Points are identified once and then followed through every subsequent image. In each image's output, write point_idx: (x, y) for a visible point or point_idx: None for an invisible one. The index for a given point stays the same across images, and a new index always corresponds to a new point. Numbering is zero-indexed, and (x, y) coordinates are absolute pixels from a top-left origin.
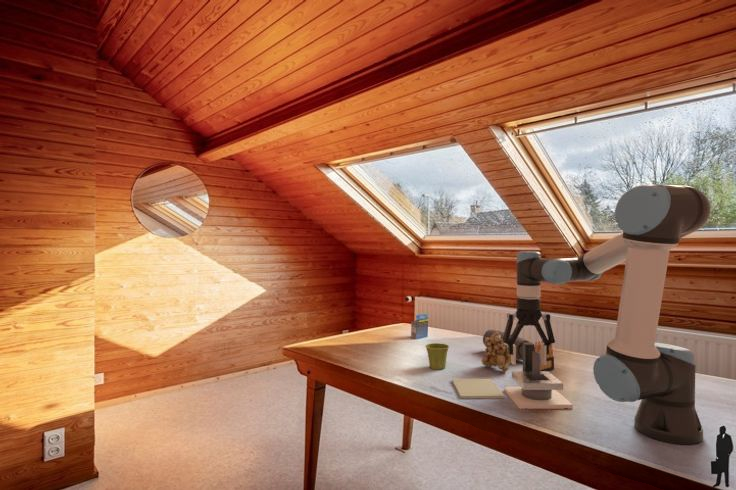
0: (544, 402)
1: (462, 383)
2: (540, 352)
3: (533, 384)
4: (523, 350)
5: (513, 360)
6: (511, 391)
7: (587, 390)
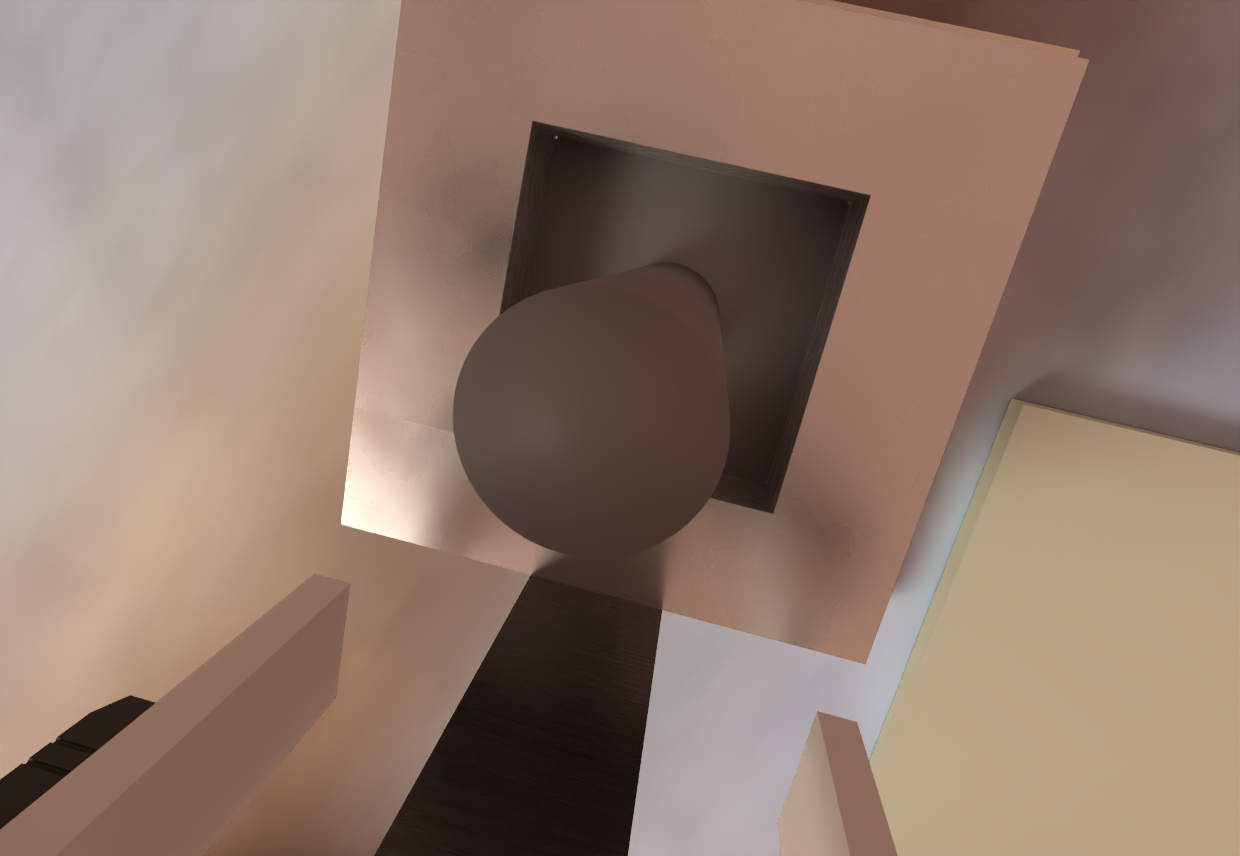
0: None
1: (1238, 854)
2: None
3: (906, 31)
4: None
5: (873, 790)
6: None
7: (67, 390)
